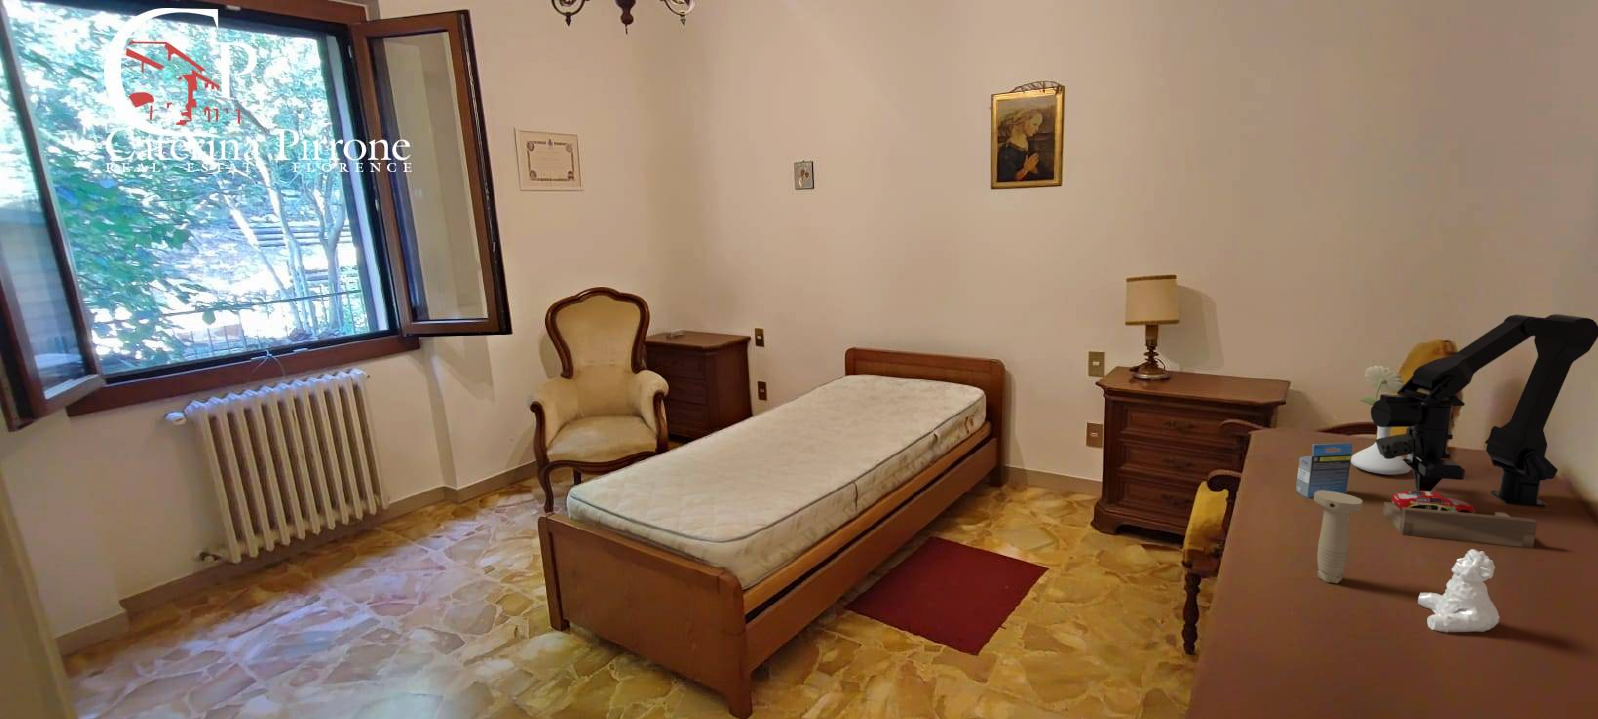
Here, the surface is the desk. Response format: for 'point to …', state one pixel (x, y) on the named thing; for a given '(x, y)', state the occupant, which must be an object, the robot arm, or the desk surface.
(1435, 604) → the seated beast figurine
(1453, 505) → the race car
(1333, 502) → the handle
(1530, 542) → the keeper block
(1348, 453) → the label tape box
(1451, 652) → the desk surface
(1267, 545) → the desk surface
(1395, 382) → the flower in vase
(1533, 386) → the robot arm
